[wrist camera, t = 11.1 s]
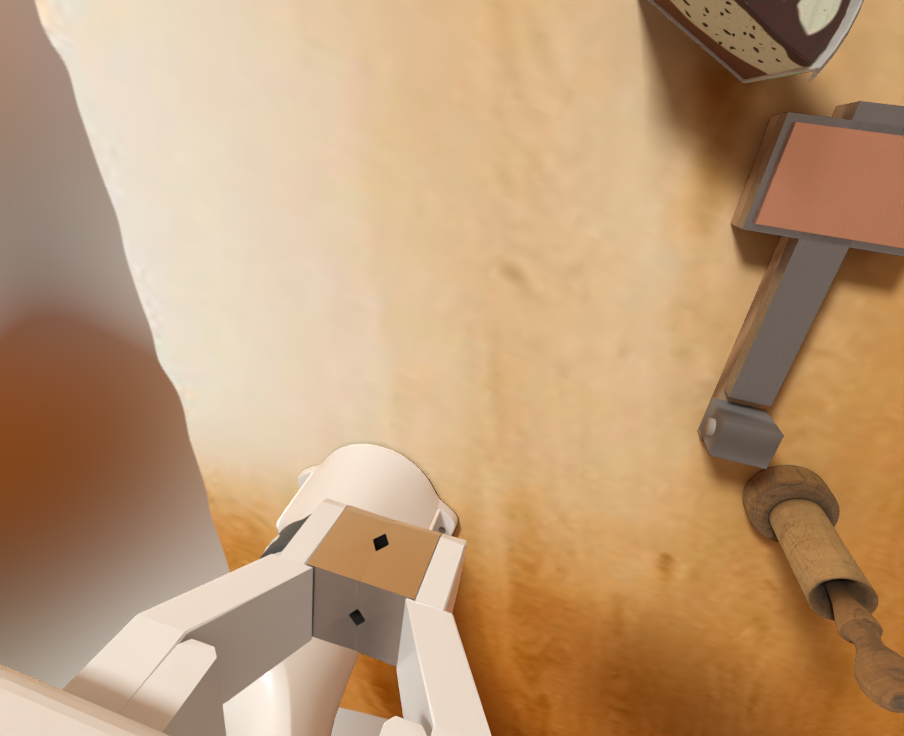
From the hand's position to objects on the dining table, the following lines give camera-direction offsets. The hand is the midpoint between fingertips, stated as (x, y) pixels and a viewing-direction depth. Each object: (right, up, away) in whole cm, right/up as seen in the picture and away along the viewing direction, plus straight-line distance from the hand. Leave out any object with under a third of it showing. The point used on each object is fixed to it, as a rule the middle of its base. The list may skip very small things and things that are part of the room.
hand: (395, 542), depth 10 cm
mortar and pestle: (+30, -8, +32) cm, 45 cm away
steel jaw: (+25, +10, +24) cm, 36 cm away
